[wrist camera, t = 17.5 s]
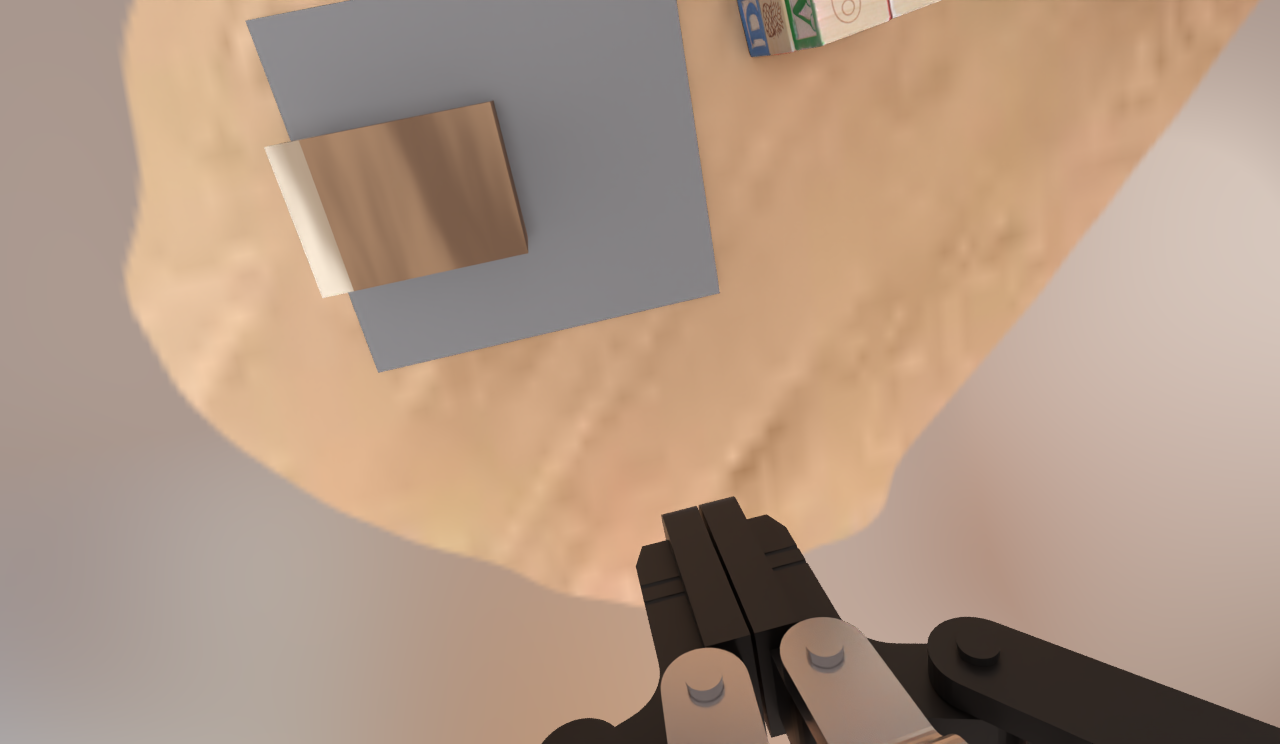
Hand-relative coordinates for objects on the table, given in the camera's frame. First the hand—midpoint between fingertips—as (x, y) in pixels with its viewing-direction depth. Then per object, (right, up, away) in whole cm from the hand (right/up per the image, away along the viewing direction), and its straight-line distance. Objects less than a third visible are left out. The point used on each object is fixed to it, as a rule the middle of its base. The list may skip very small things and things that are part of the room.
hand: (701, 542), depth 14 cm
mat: (-8, +14, +22) cm, 28 cm away
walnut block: (-8, +13, +20) cm, 25 cm away
